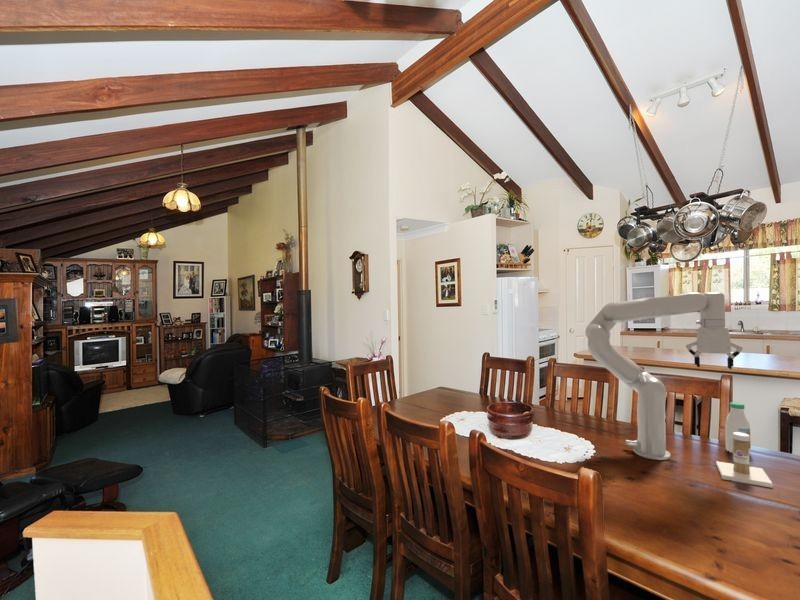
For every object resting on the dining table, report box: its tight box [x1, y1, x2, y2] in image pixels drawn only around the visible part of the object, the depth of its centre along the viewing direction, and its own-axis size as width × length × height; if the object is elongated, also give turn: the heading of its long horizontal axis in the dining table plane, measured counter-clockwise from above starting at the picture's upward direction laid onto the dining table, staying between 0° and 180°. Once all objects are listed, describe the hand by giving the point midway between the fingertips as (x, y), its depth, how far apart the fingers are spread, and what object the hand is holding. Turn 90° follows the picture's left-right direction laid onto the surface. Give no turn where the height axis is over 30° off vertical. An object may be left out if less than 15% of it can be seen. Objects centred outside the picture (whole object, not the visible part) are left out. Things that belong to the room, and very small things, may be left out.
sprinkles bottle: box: [732, 432, 751, 474], centre depth 138 cm, size 5×5×13 cm
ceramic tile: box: [715, 460, 774, 489], centre depth 138 cm, size 13×13×2 cm
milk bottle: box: [724, 401, 752, 456], centre depth 158 cm, size 8×8×20 cm
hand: (713, 367), depth 151 cm, fingers open, 9 cm apart
